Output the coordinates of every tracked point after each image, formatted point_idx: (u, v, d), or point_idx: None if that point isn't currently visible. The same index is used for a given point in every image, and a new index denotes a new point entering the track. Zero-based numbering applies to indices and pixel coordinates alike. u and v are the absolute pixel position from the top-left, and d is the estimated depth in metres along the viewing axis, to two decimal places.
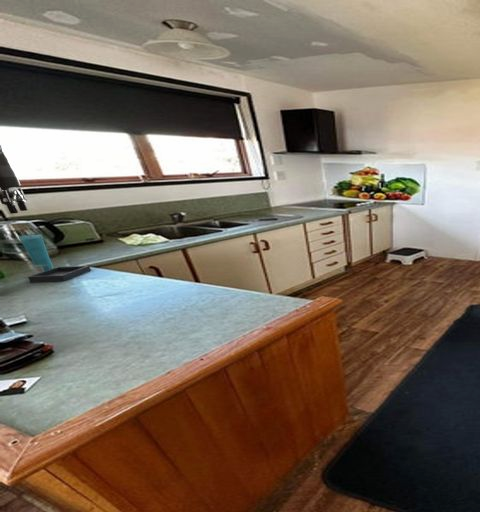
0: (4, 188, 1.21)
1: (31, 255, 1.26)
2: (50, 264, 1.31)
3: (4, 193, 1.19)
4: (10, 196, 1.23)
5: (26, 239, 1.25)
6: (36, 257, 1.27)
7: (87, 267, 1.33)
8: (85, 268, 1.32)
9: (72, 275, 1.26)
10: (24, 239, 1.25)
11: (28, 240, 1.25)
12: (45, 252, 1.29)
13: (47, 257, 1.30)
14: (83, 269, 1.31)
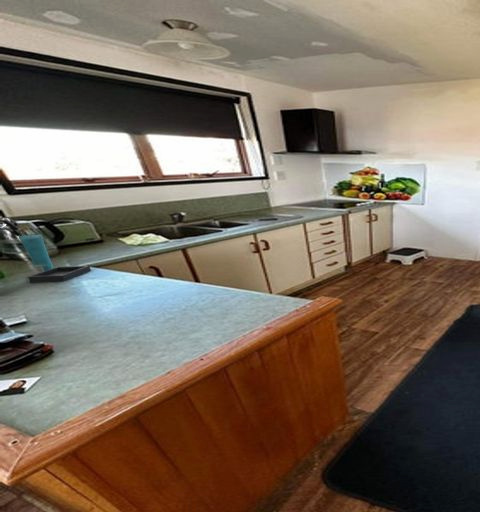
0: None
1: (31, 255, 1.26)
2: (50, 264, 1.31)
3: None
4: None
5: (26, 239, 1.25)
6: (36, 257, 1.27)
7: (87, 267, 1.33)
8: (85, 268, 1.32)
9: (72, 275, 1.26)
10: (24, 239, 1.25)
11: (28, 240, 1.25)
12: (45, 252, 1.29)
13: (47, 257, 1.30)
14: (83, 269, 1.31)
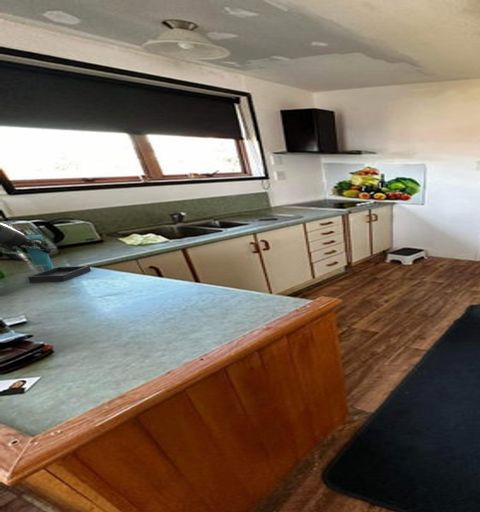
0: None
1: (31, 255, 1.26)
2: (50, 264, 1.31)
3: None
4: None
5: None
6: (36, 257, 1.27)
7: (87, 267, 1.33)
8: (85, 268, 1.32)
9: (72, 275, 1.26)
10: None
11: None
12: None
13: (47, 257, 1.30)
14: (83, 269, 1.31)
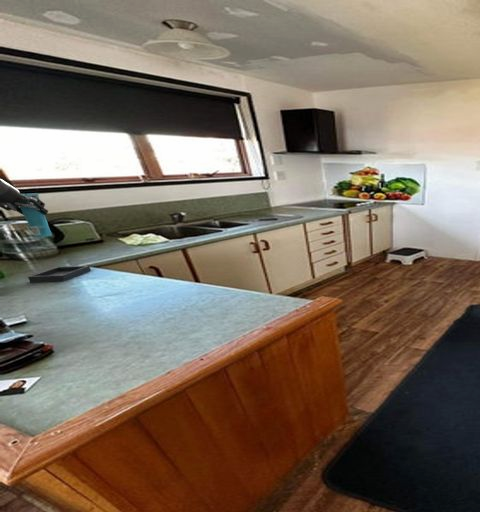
0: None
1: (26, 215, 1.17)
2: (47, 226, 1.22)
3: None
4: None
5: None
6: (32, 217, 1.18)
7: (87, 267, 1.33)
8: (85, 268, 1.32)
9: (72, 275, 1.26)
10: None
11: None
12: (41, 213, 1.20)
13: (44, 218, 1.21)
14: (83, 269, 1.31)
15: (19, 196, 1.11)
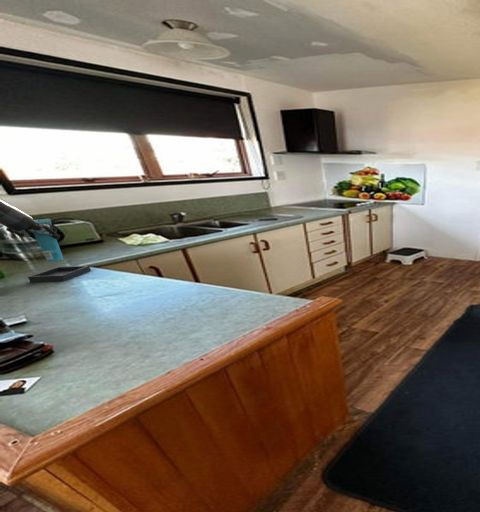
0: None
1: (39, 240, 1.21)
2: (59, 250, 1.25)
3: None
4: None
5: None
6: (45, 242, 1.21)
7: (87, 267, 1.33)
8: (85, 268, 1.32)
9: (72, 275, 1.26)
10: None
11: None
12: None
13: (56, 243, 1.24)
14: (83, 269, 1.31)
15: (33, 223, 1.14)
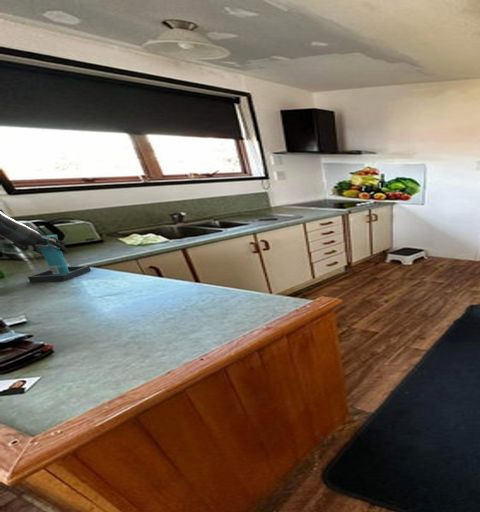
0: None
1: (46, 256, 1.23)
2: (65, 265, 1.27)
3: None
4: None
5: None
6: (51, 258, 1.24)
7: (87, 267, 1.33)
8: (85, 268, 1.32)
9: (72, 275, 1.26)
10: None
11: None
12: (60, 253, 1.25)
13: (62, 258, 1.26)
14: (83, 269, 1.31)
15: (40, 239, 1.16)
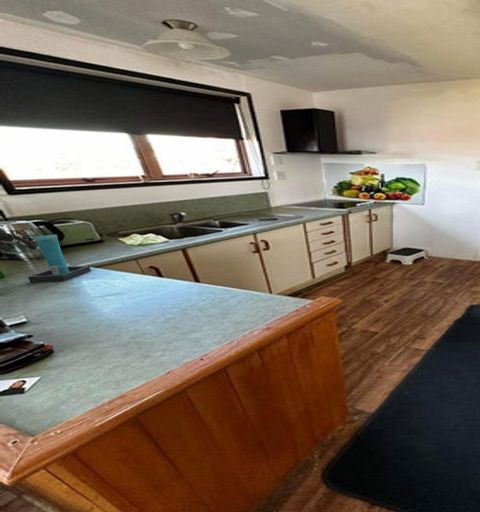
0: None
1: (46, 256, 1.23)
2: (65, 265, 1.27)
3: None
4: None
5: (41, 239, 1.21)
6: (51, 258, 1.24)
7: (87, 267, 1.33)
8: (85, 268, 1.32)
9: (72, 275, 1.26)
10: (39, 239, 1.21)
11: (43, 241, 1.22)
12: (60, 253, 1.25)
13: (62, 258, 1.26)
14: (83, 269, 1.31)
15: (3, 234, 1.03)
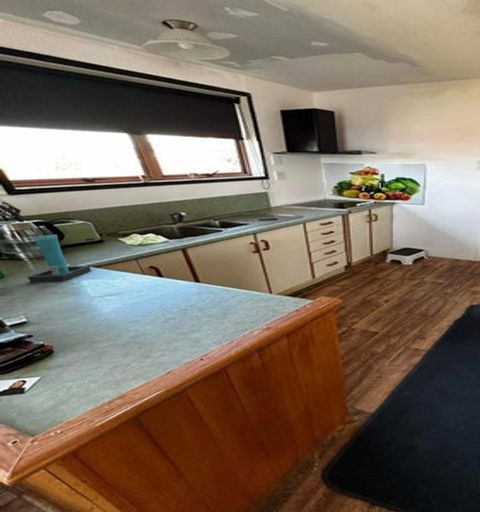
0: None
1: (46, 256, 1.23)
2: (65, 265, 1.27)
3: None
4: None
5: (41, 239, 1.21)
6: (51, 258, 1.24)
7: (87, 267, 1.33)
8: (85, 268, 1.32)
9: (72, 275, 1.26)
10: (39, 239, 1.21)
11: (43, 241, 1.22)
12: (60, 253, 1.25)
13: (62, 258, 1.26)
14: (83, 269, 1.31)
15: None
